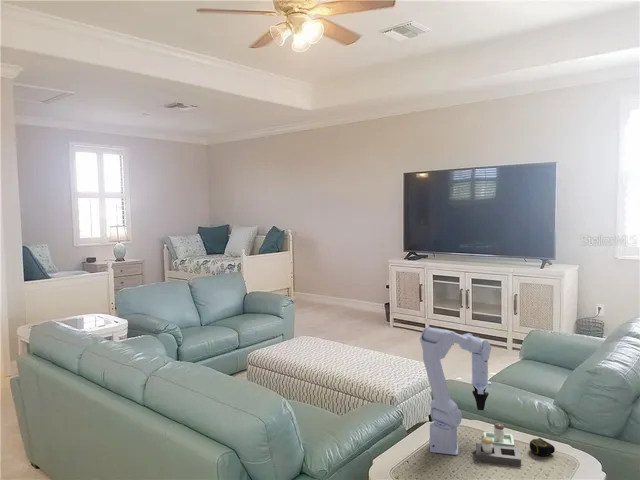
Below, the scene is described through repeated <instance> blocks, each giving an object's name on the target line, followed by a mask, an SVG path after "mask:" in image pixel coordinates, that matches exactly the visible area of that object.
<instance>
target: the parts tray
mask: <svg viewBox="0 0 640 480" xmlns="http://www.w3.org/2000/svg"><path fill="white" fill-rule="evenodd" d="M483 437H489V438H491V439H492V445H498V446H507V447H515V442H514V441H515V440H514V436H513V434H511V433H504V442H503V443H502V442H495V441H494V432H493V431H492V432H491V431H483Z"/></svg>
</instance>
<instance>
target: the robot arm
mask: <svg viewBox="0 0 640 480" xmlns="http://www.w3.org/2000/svg"><path fill="white" fill-rule="evenodd" d="M419 340H420V341H419V342H420V344H421V345H420V346H421V348H422V360H423V364H424V367H425V371H426V374H427V378H428V382H429V385H430V386H429V387H430V390H431V392H432V397H433V399H432V400H431V402H430V403H429V406H430V418H431V419H433V422H430V423H429V441H428V442H429V452H430V453H433V454H435V453H437V454H445V455H454V456H458V455H459V443H458V437H457V436H458V434H457V433H458V427H459V426H460V425H461V422H462V420H463V416H462V415H463V414H462V412H461V410H460V409H459V407H458V404H457V403H456V402H455V401H454V400H453V399H452V398H451V397H450V396H451V395H450V392H449V388H448V384H447V381H446V377H445V373H444V369H443V366H442V362H441V361H442V359H445V358H446V356H447V355H448V353H449V351H450V349H451V347H452V346H454V344H458V346H459V347H460V349H462V350H464V351H468V352H469V353H471V379H472V380H471V385H472V387H473V389H474V390H472V395H473V397H474V400H475V403H476V409H477V410H478V411H484V410H485V405H486V401H487V398H488V397H489V395H490V393H489V392H486V390H487V387H488V386H492V382H491V381H489V365H488V364H489V362H488V361H489V359H490V353H491V352H492V351H491V350H492V346H491V343H490V342H489V341H488V340H485V339H481V338H480V336H474V335H473V334H472V333H470V332H467V333H464V334H460V333H457V332H455V331H452V330H449V329H443V328H437V327H430V326H426V327H425V328H424V329H423V330H422V333H421V334H420V337H419Z"/></svg>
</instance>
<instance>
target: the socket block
mask: <svg viewBox="0 0 640 480" xmlns="http://www.w3.org/2000/svg"><path fill="white" fill-rule="evenodd" d="M475 456H476V457H475V458H476V462H483V463H484V462H485V463H491V464H492V463H493V464H502V465H508V466H509V465H511V466H517V467H518V466H520V467H521V466H522V457H521V453H520V448H519V447H507V446H498V445H492V454H491V453H483V448H482V443H475Z"/></svg>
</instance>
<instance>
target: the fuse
mask: <svg viewBox="0 0 640 480" xmlns="http://www.w3.org/2000/svg"><path fill="white" fill-rule="evenodd" d="M481 441H482V443H481V444H482V448H483V452H482V453H491V454H492V439H491V438H489V437H484V436H483V437H482V438H481Z"/></svg>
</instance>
